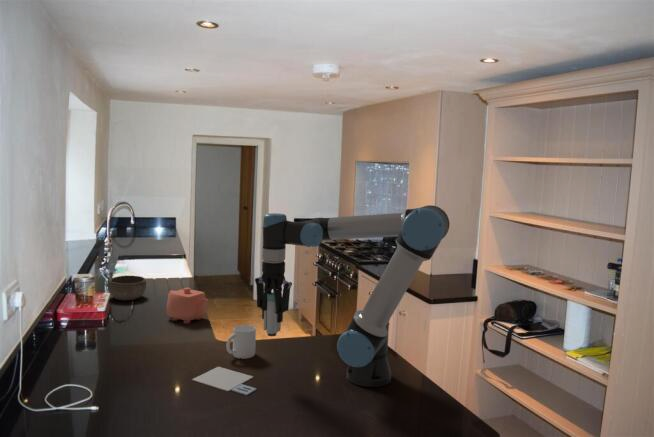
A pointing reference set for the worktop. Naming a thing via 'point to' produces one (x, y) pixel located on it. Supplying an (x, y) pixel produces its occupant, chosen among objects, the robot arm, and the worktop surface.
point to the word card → (243, 389)
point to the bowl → (127, 287)
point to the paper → (222, 378)
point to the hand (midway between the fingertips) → (272, 330)
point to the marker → (271, 313)
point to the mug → (242, 341)
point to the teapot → (186, 305)
